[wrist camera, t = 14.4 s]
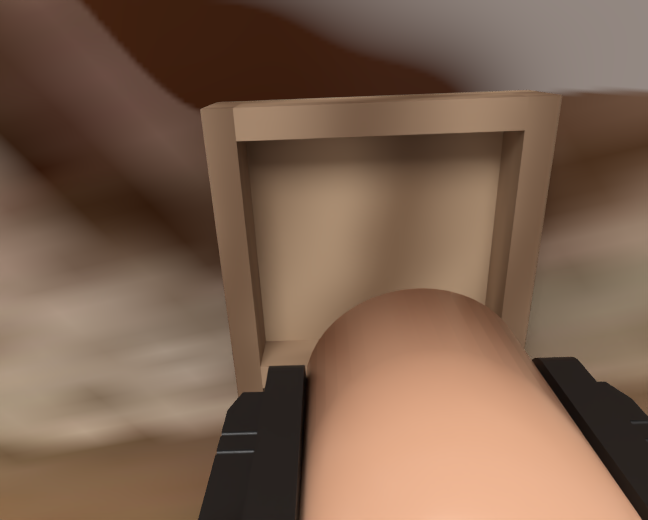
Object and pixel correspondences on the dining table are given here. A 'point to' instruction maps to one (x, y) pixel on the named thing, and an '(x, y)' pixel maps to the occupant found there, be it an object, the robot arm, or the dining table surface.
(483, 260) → the walnut tray
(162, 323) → the dining table surface
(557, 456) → the peach oval shape
